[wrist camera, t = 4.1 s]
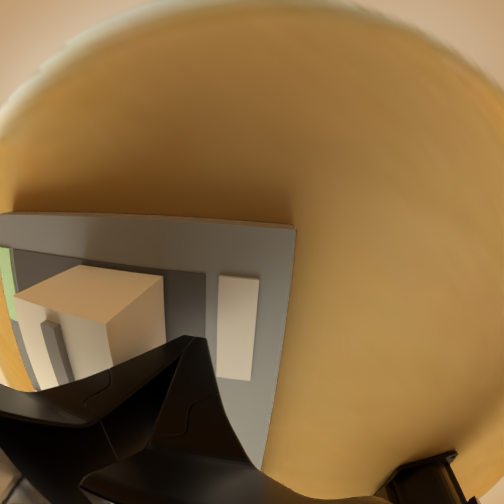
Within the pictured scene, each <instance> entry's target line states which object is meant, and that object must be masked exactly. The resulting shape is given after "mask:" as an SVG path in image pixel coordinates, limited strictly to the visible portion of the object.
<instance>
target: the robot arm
mask: <svg viewBox="0 0 504 504" xmlns="http://www.w3.org/2000/svg"><path fill="white" fill-rule="evenodd" d="M457 455H458V453H457V451H452V452H449V453H446V454H443V455H440V456H437V457H434V458H430V459H427V460H423V461H420V462H416V463H412V464H408V465H403V466H401V467H399V468H397V469H396V470H395V472H394V473H393V474H392V475H391V477H390V478H389V479H388V480H387V481H386V483H385V484H384V485H383V486H382V487H381V488H380V490H379V491H378V492H377V493H376V494H375V495H374V496H361V497H351V498H343V499H331V500H324V499H314V498H310V497H306V496H303V495H301V494H298V493H296V492H295V491H293V490H291V489H289V488H287V487H286V486H284V485H282V484H281V483H279V482H277V481H275V480H274V479H272V478H271V477H269V476H267V475H266V474H264V473H263V472H261V471H260V470H258V469H257V468H256V467H255V465H254V464H253V463H252V461H251V460H250V458H249V457H248V455H247V453H246V452H245V450H244V448H243V446H242V444H241V443H240V441H239V439H238V437H237V435H236V433H235V431H234V430H233V428H232V426H231V424H230V421H229V419H228V417H227V415H226V412H225V409H224V406H223V403H222V399H221V395H220V392H219V388H218V384H217V380H216V375H215V371H214V367H213V363H212V358H211V354H210V349H209V345H208V340H207V338H203V337H194V336H190V335H182V336H180V337H178V338H176V339H173V340H171V341H169V342H167V343H165V344H163V345H160V346H158V347H156V348H154V349H152V350H149V351H147V352H145V353H143V354H141V355H138V356H136V357H134V358H132V359H129V360H127V361H125V362H122V363H120V364H118V365H115V366H113V367H111V368H109V369H106V370H104V371H101V372H99V373H96V374H94V375H91V376H88V377H86V378H83V379H80V380H76V381H73V382H70V383H66V384H63V385H59V386H56V387H52V388H48V389H45V390H41V391H36V392H22V391H18V390H15V389H12V388H9V387H7V386H4V385H2V384H0V504H480V501H479V500H478V499H477V498H476V497H475V496H474V497H472V498H471V499H469V501H468V502H467V501H466V498H465V496H464V494H463V492H462V490H461V487H460V485H459V483H458V481H457V479H456V477H455V475H454V473H453V471H452V469H451V467H450V464H451V462H452V461H453V460H454V459H455V458H456V456H457Z"/></svg>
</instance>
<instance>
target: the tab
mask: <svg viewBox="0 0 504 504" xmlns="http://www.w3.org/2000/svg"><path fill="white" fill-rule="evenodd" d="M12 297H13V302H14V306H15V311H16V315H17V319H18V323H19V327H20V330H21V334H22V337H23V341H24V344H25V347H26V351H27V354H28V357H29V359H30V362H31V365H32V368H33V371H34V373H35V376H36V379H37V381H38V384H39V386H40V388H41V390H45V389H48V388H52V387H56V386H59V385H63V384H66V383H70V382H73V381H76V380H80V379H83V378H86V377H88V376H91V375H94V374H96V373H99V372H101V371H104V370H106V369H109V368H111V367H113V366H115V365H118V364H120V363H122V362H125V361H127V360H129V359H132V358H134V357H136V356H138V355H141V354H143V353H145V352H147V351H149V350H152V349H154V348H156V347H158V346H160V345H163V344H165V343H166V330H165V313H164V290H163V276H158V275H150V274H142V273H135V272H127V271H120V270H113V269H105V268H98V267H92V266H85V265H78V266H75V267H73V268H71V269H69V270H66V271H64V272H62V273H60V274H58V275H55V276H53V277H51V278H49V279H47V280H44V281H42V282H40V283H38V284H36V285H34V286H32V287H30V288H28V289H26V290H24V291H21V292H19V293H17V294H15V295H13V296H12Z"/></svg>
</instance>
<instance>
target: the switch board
mask: <svg viewBox="0 0 504 504" xmlns="http://www.w3.org/2000/svg"><path fill="white" fill-rule="evenodd" d="M295 240H296V229H295V227H294V225H289V224H277V223H266V222H253V221H240V220H227V219H213V218H197V217H181V216H162V215H142V214H118V213H86V212H8V213H2V214H0V273H1V279H2V285H3V290H4V295H5V300H6V305H7V309H8V313H9V317H10V321H11V325H12V329H13V332H14V336H15V339H16V342H17V345H18V348H19V351H20V354H21V357H22V360H23V363H24V366H25V368H26V371H27V374H28V376H29V379H30V381H31V384H32V386H33V388H34V391H35V392H36V391H41V388H40V386H39V384H38V381H37V379H36V376H35V373H34V371H33V368H32V365H31V362H30V359H29V357H28V354H27V351H26V347H25V344H24V341H23V337H22V334H21V330H20V327H19V323H18V319H17V315H16V311H15V306H14V302H13V297H12V296H13V295H15V294H17V293H19V292H21V291H24V290H26V289H28V288H30V287H32V286H34V285H36V284H38V283H40V282H42V281H44V280H47V279H49V278H51V277H53V276H55V275H58V274H60V273H62V272H64V271H66V270H69V269H71V268H73V267H75V266H78V265H85V266H92V267H98V268H105V269H113V270H120V271H127V272H135V273H142V274H150V275H158V276H163V290H164V313H165V330H166V343H167V342H169V341H171V340H173V339H176V338H178V337H180V336H182V335H190V336H194V337H203V338H207V340H208V345H209V349H210V354H211V358H212V363H213V367H214V371H215V375H216V380H217V384H218V388H219V392H220V395H221V399H222V403H223V406H224V409H225V412H226V415H227V417H228V419H229V421H230V424H231V426H232V428H233V430H234V431H235V433H236V435H237V437H238V439H239V441H240V443H241V444H242V446H243V448H244V450H245V452H246V453H247V455H248V457H249V458H250V460H251V461H252V463H253V464H254V465H255V467H256V468H257V469H258V470H260V471H261V466H262V461H263V456H264V451H265V446H266V441H267V436H268V430H269V425H270V420H271V414H272V408H273V403H274V397H275V391H276V385H277V379H278V372H279V366H280V359H281V353H282V346H283V339H284V332H285V325H286V317H287V310H288V302H289V294H290V286H291V277H292V268H293V259H294V250H295Z"/></svg>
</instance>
